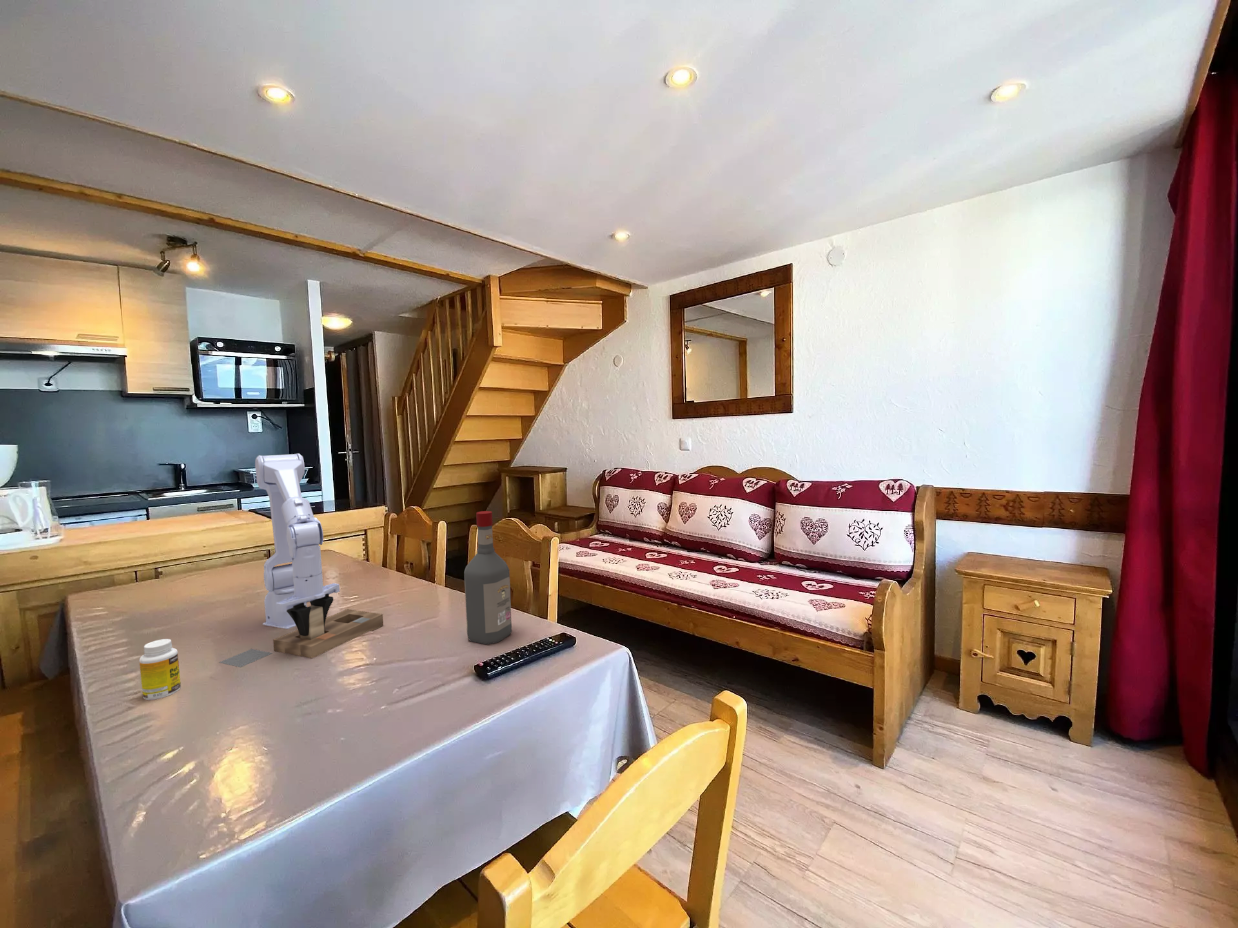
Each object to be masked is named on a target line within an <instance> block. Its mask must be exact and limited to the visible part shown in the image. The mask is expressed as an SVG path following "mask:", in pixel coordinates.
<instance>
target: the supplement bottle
mask: <svg viewBox="0 0 1238 928" xmlns="http://www.w3.org/2000/svg"><path fill="white" fill-rule="evenodd" d="M143 653H144V654H142V655H141V656H140V657H139V662H138V663H139V672H140V683H141V689H142V690H141V692H142V698H143V700H147V701H151V700H154V701H155V700H159V699H163V698H166V697H169V696H171V695H173V694H175V693H177V692H178V691H179V690H180V689H181V685H182V684H181V673H180V662H179V651H178V649H176V648H174V647H173V644H172V639H170V638H162V639H156V640H153V641H150V642H148V643H145V644H144V645H143Z"/></svg>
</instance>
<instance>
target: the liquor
mask: <svg viewBox="0 0 1238 928" xmlns="http://www.w3.org/2000/svg"><path fill="white" fill-rule="evenodd" d="M475 513H476V516H475V517H476V527H477V549H476V550H477V552H476V554H475V555H474V556H473V558H471V560H470V561H469V562H468V564H467V565H466V566H465V568H464V572H463V576H464V595H465V596H464V597H465V598H464V599H465V616H466V634H467V639H468V640H469V642H473V643H478V644H481V645H482V644H483V645H490V644H491V645H492V644H498V643H499V642H501V641H502V640H504V639H506V638H507V637H509V636H510V635H511V634H512V631H513V626H512V605H511V580H510V579H511V578H510V568H509V566H508V564H507V562H506V561H505V560H504V558H502V557H501V556H500V555H499V554H498V553H496V551H495V548H494V538H493V537H494V536H493V524H494V523H493V522H494V521H493V511H490V510H484V511H483V510H482V511H477V512H475Z"/></svg>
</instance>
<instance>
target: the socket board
mask: <svg viewBox="0 0 1238 928" xmlns="http://www.w3.org/2000/svg"><path fill="white" fill-rule="evenodd" d="M383 615H384V613H378V612H377V613H376V612H370V611H365V610H356V609H349V608H347V609H344V610H342V611H340V612H337V613H334V614H332V615H329V616H327V617H326V621H325V626H324V634H323V635H320V636H318V637H316V638H314V639H311V640H307V639H302V638H300V634H299V631H298V629H296V630H293V631H290V632H288V633H286V634H283V635H281V636H278V637H275V638H274V639H272V641H273V642H272V644H273V651H274V652H278V653H284V654H289V655H294V656H298V657H303V658H307V659H308V658H309V659H315V658H316V657H319V656H320V655H322V654H325V653H327V652H329V651H330V650H333V649H335V648H337V647H339V646H342V645H343V644H346V643H347V642H349V641H351V640H352V641H353V639H356V638H357V637H360V636H362V635H364V634H365V633H368V632H373V631H375V630H377V629H379V628H382V627H383V626H384V616H383Z"/></svg>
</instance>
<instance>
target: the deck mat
mask: <svg viewBox="0 0 1238 928" xmlns="http://www.w3.org/2000/svg"><path fill="white" fill-rule="evenodd" d="M272 654H273V652H269V651H264V650H260V649H254V648H250V649H248V650H246V651H243V652H241V653H238V654H236V655H233V656H231V657H229V658H225V659H224V660H222V661H219V662H218V663H219V664H224V665H228V666H233V667H238V668H242V667H245V666H247V665H249V664H251V663H254V662H257V661H258V660H261V659H263V658H265V657H268V656H270V655H272Z"/></svg>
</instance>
